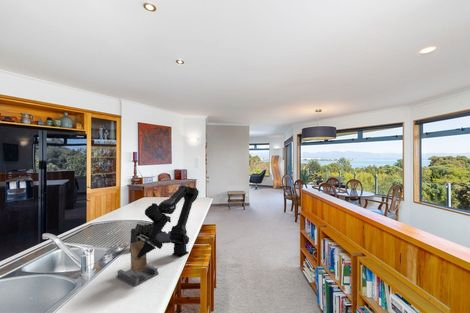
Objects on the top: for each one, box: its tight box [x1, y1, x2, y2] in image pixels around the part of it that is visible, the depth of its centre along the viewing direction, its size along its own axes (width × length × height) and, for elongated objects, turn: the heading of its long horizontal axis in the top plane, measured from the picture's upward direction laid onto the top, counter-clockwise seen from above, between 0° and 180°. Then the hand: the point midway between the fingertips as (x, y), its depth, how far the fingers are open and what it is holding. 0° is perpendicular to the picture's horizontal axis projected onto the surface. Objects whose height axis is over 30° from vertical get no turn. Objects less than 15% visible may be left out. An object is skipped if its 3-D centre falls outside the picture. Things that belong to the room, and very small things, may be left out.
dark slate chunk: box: [146, 230, 172, 244], centre depth 154 cm, size 15×22×5 cm
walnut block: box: [129, 240, 148, 273], centre depth 106 cm, size 5×5×12 cm
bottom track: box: [116, 264, 159, 287], centre depth 107 cm, size 12×14×3 cm
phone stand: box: [129, 227, 137, 253], centre depth 139 cm, size 9×6×12 cm, turn 6°
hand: (135, 256), depth 106 cm, fingers closed on walnut block, 5 cm apart
